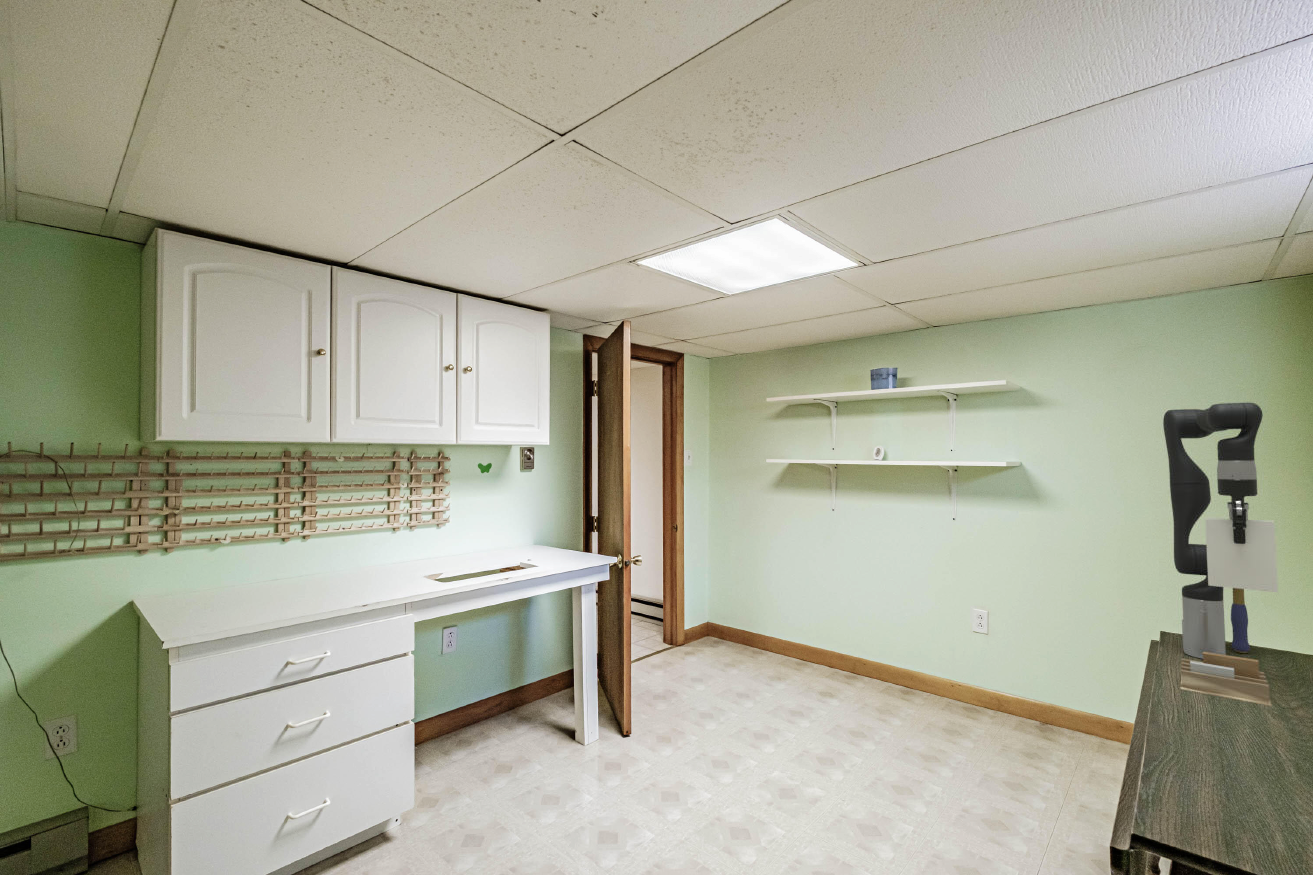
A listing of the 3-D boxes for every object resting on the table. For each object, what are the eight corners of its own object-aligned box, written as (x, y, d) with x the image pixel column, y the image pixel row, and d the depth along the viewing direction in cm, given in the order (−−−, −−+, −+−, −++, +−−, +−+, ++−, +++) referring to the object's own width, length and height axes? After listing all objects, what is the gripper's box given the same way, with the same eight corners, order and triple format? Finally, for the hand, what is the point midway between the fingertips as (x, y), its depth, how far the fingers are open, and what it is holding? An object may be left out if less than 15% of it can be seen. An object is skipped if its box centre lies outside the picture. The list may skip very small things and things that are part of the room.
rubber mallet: (1271, 654, 179) (1266, 554, 180) (1268, 660, 174) (1264, 557, 175) (1215, 645, 188) (1211, 550, 189) (1211, 649, 183) (1207, 552, 185)
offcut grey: (1191, 684, 152) (1190, 660, 152) (1234, 692, 146) (1233, 668, 147) (1191, 686, 150) (1190, 662, 150) (1235, 695, 145) (1234, 670, 145)
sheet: (1208, 584, 162) (1205, 518, 162) (1277, 590, 153) (1273, 520, 154) (1208, 585, 160) (1205, 518, 161) (1277, 592, 151) (1274, 521, 152)
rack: (1181, 676, 161) (1180, 656, 161) (1265, 691, 150) (1264, 670, 150) (1180, 693, 149) (1179, 672, 149) (1272, 711, 138) (1271, 688, 139)
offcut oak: (1204, 682, 153) (1202, 651, 153) (1259, 692, 146) (1257, 660, 146) (1204, 685, 151) (1203, 653, 152) (1260, 695, 145) (1258, 662, 145)
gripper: (1216, 476, 165) (1219, 539, 165) (1218, 478, 155) (1220, 544, 154) (1254, 477, 160) (1257, 541, 160) (1258, 478, 150) (1261, 547, 149)
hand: (1239, 542), depth 157 cm, fingers closed on sheet, 2 cm apart
